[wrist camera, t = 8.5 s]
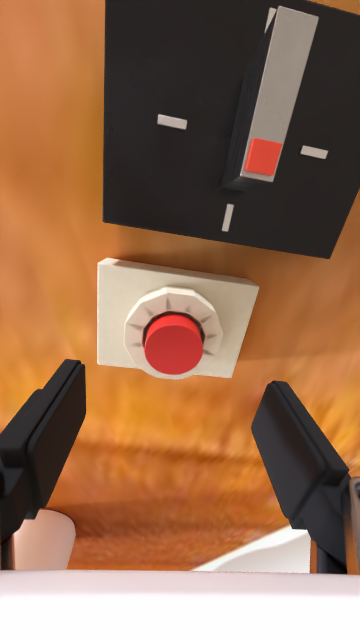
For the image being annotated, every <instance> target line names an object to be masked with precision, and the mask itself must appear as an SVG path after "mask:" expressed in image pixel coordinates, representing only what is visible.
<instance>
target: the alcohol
mask: <svg viewBox="0 0 360 640" xmlns="http://www.w3.org/2000/svg"><path fill="white" fill-rule="evenodd" d="M75 538H76V532H75V526H74V523H73V521H72V520H71V519H70V518H69V517H67V516H66V515H64V514H62V513H59V512H56V511H51V510H39V511H38V514H37V516H36V518H35V520H26V519H24V521H23V523H22V525H21V527H20V529H19V530H18V531H16V532H15V533H14V547H15V570H66V568H67V565H68V561H69V558H70V555H71V551H72V548H73V545H74V541H75Z"/></svg>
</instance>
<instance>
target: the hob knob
mask: <svg viewBox="0 0 360 640" xmlns="http://www.w3.org/2000/svg"><path fill="white" fill-rule="evenodd" d="M318 20H319V17H318V16H314V15H311V14H307V13H303V12H300V11H296V10H293V9H289V8H286V7H282V6H279V7H278V8H277V10H276V12H275V14H274V16H273V18H272V20H271V22H270V24H269V26H268V28H267V30H266V32H265V34H264V36H263V38H262V40H261V42H260V44H259V46H258V48H257V50H256V52H255V54H254V56H253V58H252V60H251V62H250V64H249V66H248V68H247V70H246V72H245V74H244V77H243V82H242V87H241V92H240V97H239V102H238V107H237V112H236V117H235V122H234V127H233V132H232V137H231V142H230V147H229V152H228V157H227V162H226V167H225V172H224V177H223V182H222V188H226V189H231V190H236V191H241V192H247V191H250V190H253V189H255V188H258V187H261V186H263V185H266V184H269V183H272V182H273V180H274V176H275V173H276V169H277V166H278V162H279V159H280V155H281V152H282V148H283V144H284V141H285V137H286V134H287V130H288V127H289V123H290V120H291V116H292V112H293V109H294V105H295V102H296V98H297V95H298V91H299V87H300V84H301V80H302V77H303V73H304V70H305V66H306V63H307V59H308V55H309V52H310V48H311V45H312V41H313V38H314V34H315V30H316V27H317V23H318Z"/></svg>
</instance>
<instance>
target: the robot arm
mask: <svg viewBox="0 0 360 640" xmlns="http://www.w3.org/2000/svg"><path fill="white" fill-rule="evenodd" d="M85 415H86V383H85V365H84V364H81V361H80V360H70V359H65V360H64V362H63V363H62V364H61V365H60V367H59V368H58V369H57V371H56V372H55V373H54V375H53V376H52V377H51V379H50V380H49V381H48V383H47V384H46V385H45V386H44V388H43V389H38V390H36V391H35V392H34V393H33V394H32V395H31V396H30V398H29V399H28V400H27V401H26V403H25V404H24V405H23V406H22V408H21V409H20V410H19V411H18V413H17V414H16V415H15V416H14V418H13V419H12V420H11V421H10V423H9V424H8V425H7V426H6V428H5V429H4V430H3V431H2V433H1V434H0V640H360V477H358V476H357V477H352V478H351V477H350V475H349V474H348V471H349V469H348V467H347V466H346V464H345V463H344V462H343V460H342V459H341V457H340V456H339V455H338V453H337V452H336V450H335V449H334V448H333V446H332V445H331V443H330V442H329V441H328V439H327V438H326V436H325V435H324V434H323V432H322V431H321V429H320V428H319V427H318V425H317V424H316V422H315V421H314V420H313V418H312V417H311V415H310V414H309V413H308V411H307V410H306V408H305V407H304V406H303V404H302V403H301V401H300V400H299V399H298V397H297V396H296V394H295V393H294V392H293V390H292V389H291V387H290V386H289V385H288V383H287V382H283V381H272V382H271V383H269V384H268V385H267V387H266V389H265V392H264V395H263V397H262V400H261V402H260V405H259V407H258V410H257V412H256V415H255V417H254V420H253V422H252V426H251V429H252V434H253V436H254V439H255V441H256V444H257V447H258V449H259V452H260V455H261V457H262V460H263V462H264V465H265V468H266V470H267V473H268V476H269V478H270V481H271V483H272V486H273V489H274V491H275V494H276V496H277V499H278V502H279V504H280V507H281V510H282V512H283V514H284V516H285V517H286V518H288V519H289V522H290V524H291V527H292V529H304V530H306V529H307V530H308V533H309V535H310V537H311V548H310V573H267V572H266V573H265V572H211V571H141V570H15V547H14V533H15V532H16V531H18V530H19V529H20V527H21V525H22V523H23V521H24V519H26V520H35V518H36V516H37V514H38V511H39V509H40V508H45V507H46V505H47V503H48V501H49V499H50V496H51V494H52V492H53V490H54V487H55V485H56V483H57V480H58V478H59V476H60V474H61V471H62V469H63V467H64V464H65V462H66V460H67V458H68V455H69V453H70V451H71V448H72V446H73V444H74V441H75V439H76V437H77V435H78V432H79V430H80V428H81V425H82V423H83V421H84V418H85Z"/></svg>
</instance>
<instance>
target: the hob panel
mask: <svg viewBox="0 0 360 640" xmlns="http://www.w3.org/2000/svg"><path fill="white" fill-rule="evenodd" d="M279 6H282V7H286V8H289V9H293V10H296V11H300V12H303V13H307V14H311V15H314V16H318V17H319V20H318V23H317V27H316V30H315V34H314V38H313V41H312V45H311V48H310V52H309V55H308V59H307V63H306V66H305V70H304V73H303V77H302V80H301V84H300V87H299V91H298V95H297V98H296V102H295V105H294V109H293V112H292V116H291V120H290V123H289V127H288V130H287V134H286V137H285V141H284V144H283V148H282V152H281V155H280V159H279V162H278V166H277V169H276V173H275V176H274V180H273V182H272V183H269V184H266V185H263V186H261V187H258V188H255V189H253V190H250V191H247V192H241V191H236V190H231V189H226V188H222V182H223V177H224V172H225V167H226V162H227V157H228V152H229V147H230V142H231V137H232V132H233V127H234V122H235V117H236V112H237V107H238V102H239V97H240V92H241V87H242V82H243V77H244V74H245V72H246V70H247V68H248V66H249V64H250V62H251V60H252V58H253V56H254V54H255V52H256V50H257V48H258V46H259V44H260V42H261V40H262V38H263V36H264V34H265V32H266V30H267V28H268V26H269V24H270V22H271V20H272V18H273V16H274V14H275V12H276V10H277V8H278V7H279ZM359 188H360V15H357V14H354V13H350V12H347V11H343V10H340V9H336V8H333V7H329V6H326V5H322V4H319V3H315V2H311V1H308V0H105V67H104V151H103V222H105V223H111V224H117V225H123V226H129V227H135V228H142V229H148V230H154V231H160V232H166V233H172V234H178V235H184V236H190V237H196V238H203V239H209V240H215V241H221V242H227V243H233V244H239V245H245V246H251V247H257V248H264V249H270V250H276V251H282V252H288V253H294V254H300V255H306V256H312V257H318V258H325V259H330V257H331V255H332V252H333V250H334V247H335V245H336V243H337V240H338V238H339V235H340V233H341V231H342V228H343V226H344V224H345V221H346V219H347V216H348V214H349V212H350V209H351V207H352V205H353V202H354V200H355V197H356V195H357V193H358V190H359Z"/></svg>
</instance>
